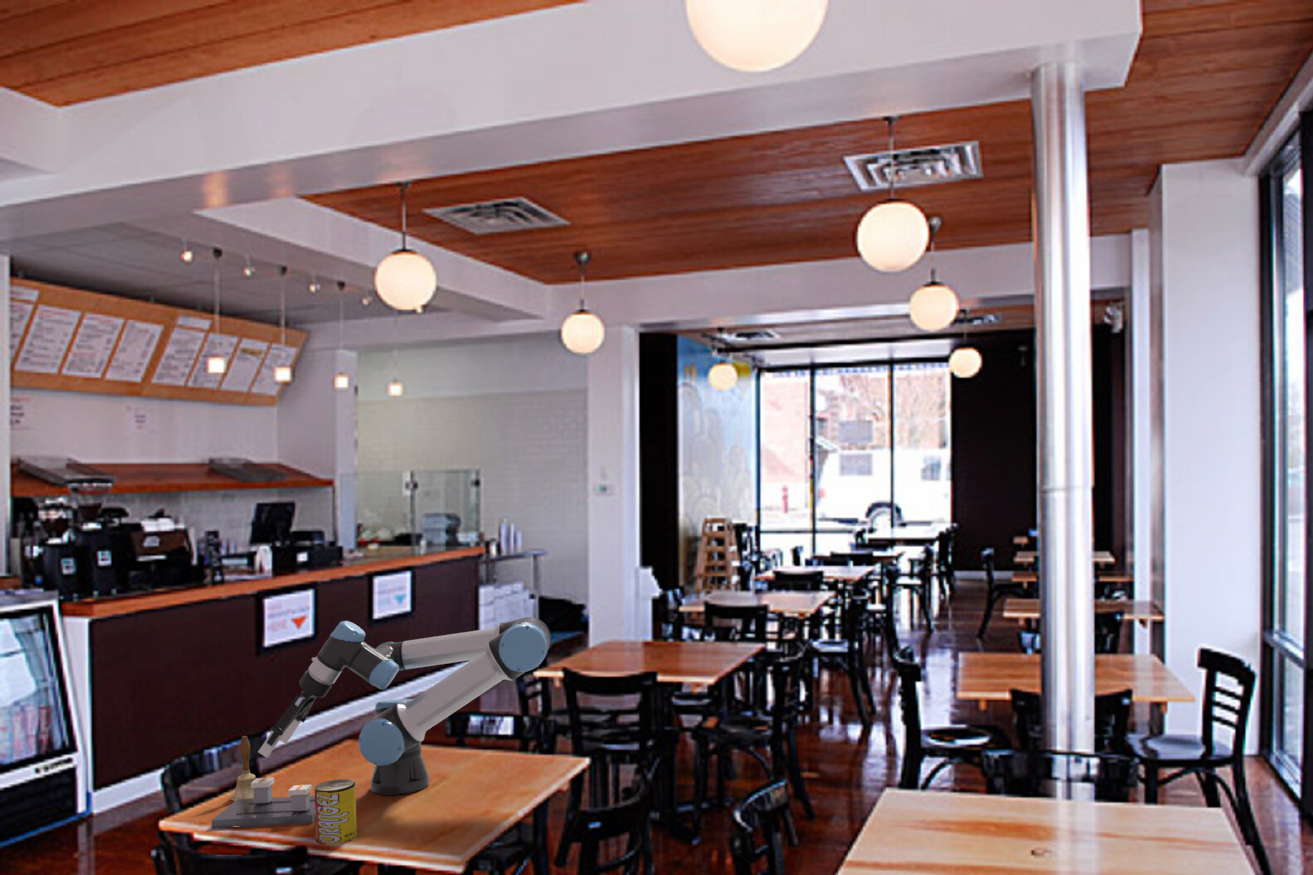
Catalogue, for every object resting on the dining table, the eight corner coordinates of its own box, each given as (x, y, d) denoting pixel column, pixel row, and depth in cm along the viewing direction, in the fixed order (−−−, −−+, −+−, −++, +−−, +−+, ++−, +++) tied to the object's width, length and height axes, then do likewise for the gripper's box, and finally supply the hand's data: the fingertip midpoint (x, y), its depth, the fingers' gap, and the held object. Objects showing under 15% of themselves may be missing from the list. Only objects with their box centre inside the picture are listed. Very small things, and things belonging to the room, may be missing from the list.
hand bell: (251, 802, 264) (250, 740, 265) (223, 801, 266) (221, 739, 266) (270, 792, 272) (268, 732, 273) (242, 791, 274) (240, 732, 274)
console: (331, 802, 260) (331, 794, 261) (312, 823, 244) (311, 814, 245) (237, 807, 260) (237, 798, 260) (211, 828, 244) (211, 819, 244)
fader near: (312, 805, 251) (311, 783, 251) (307, 810, 247) (306, 788, 247) (294, 806, 250) (293, 784, 251) (288, 811, 246) (288, 789, 247)
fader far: (274, 798, 258) (274, 776, 258) (269, 803, 254) (268, 781, 254) (257, 799, 258) (256, 777, 258) (251, 804, 254) (250, 782, 254)
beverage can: (314, 834, 236) (313, 782, 237) (355, 828, 240) (353, 777, 240) (316, 847, 228) (315, 793, 228) (358, 840, 231) (356, 787, 232)
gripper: (322, 660, 272) (277, 727, 271) (291, 678, 247) (241, 752, 246) (345, 675, 272) (300, 742, 271) (317, 695, 247) (267, 769, 246)
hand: (272, 747), depth 258 cm, fingers open, 13 cm apart
